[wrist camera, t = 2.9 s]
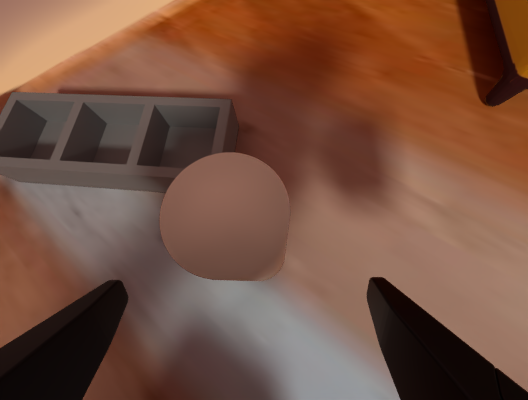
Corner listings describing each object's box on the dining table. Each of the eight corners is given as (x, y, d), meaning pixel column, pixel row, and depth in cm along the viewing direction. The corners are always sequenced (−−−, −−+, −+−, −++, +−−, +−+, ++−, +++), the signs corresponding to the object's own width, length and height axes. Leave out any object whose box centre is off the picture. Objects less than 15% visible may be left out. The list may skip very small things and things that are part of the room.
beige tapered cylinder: (229, 278, 18) (144, 272, 7) (237, 226, 19) (175, 149, 8) (282, 283, 18) (285, 287, 6) (286, 230, 19) (294, 155, 8)
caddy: (19, 181, 22) (-27, 164, 19) (48, 117, 24) (12, 92, 21) (227, 197, 20) (217, 180, 17) (238, 126, 23) (231, 99, 19)
